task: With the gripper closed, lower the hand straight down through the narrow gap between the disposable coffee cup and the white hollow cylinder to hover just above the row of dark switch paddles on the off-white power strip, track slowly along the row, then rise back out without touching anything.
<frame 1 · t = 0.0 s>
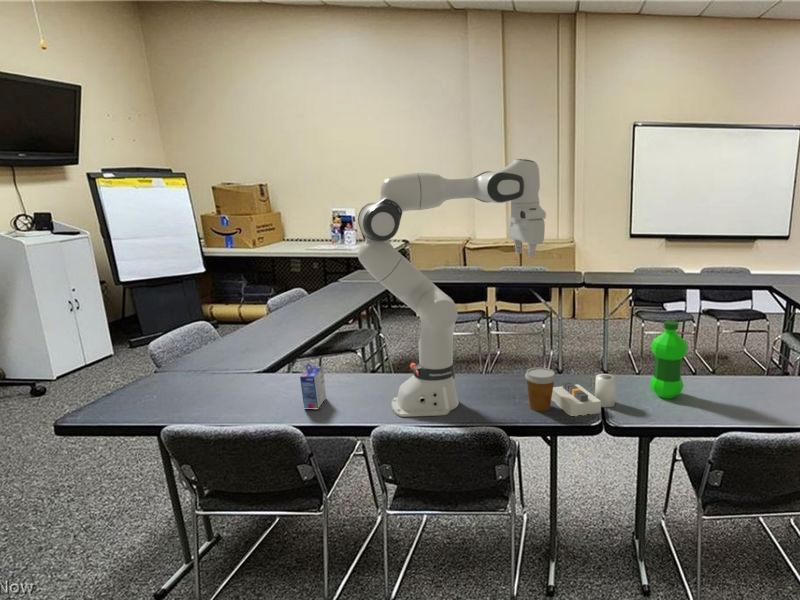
hand: (524, 255, 167), 48 cm above the table, fingers open, 8 cm apart
white hollow cylinder: (604, 403, 167), on the table
disposable coffee cup: (539, 407, 167), on the table
plastic bottle: (665, 395, 171), on the table
power strip: (574, 405, 167), on the table
ink cartridge box: (315, 404, 178), on the table
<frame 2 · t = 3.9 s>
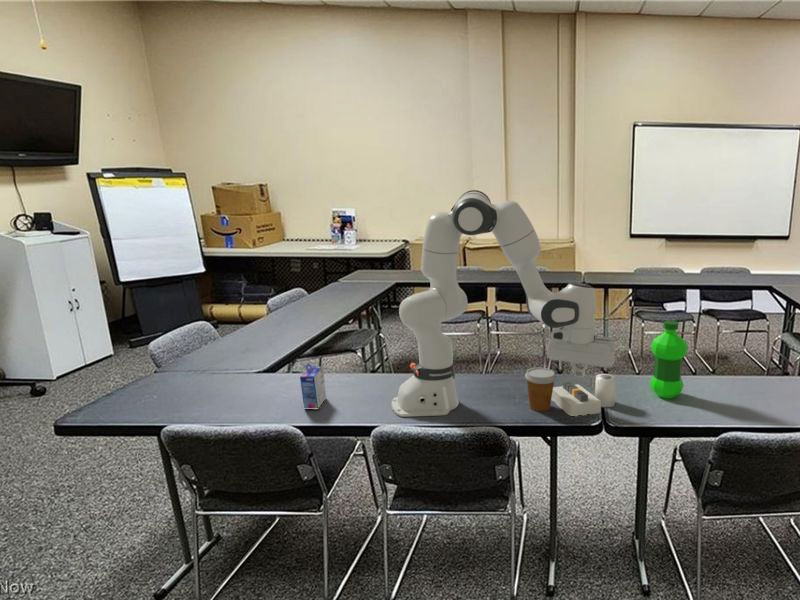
hand: (579, 375, 164), 10 cm above the table, fingers closed
nothing on the table moved.
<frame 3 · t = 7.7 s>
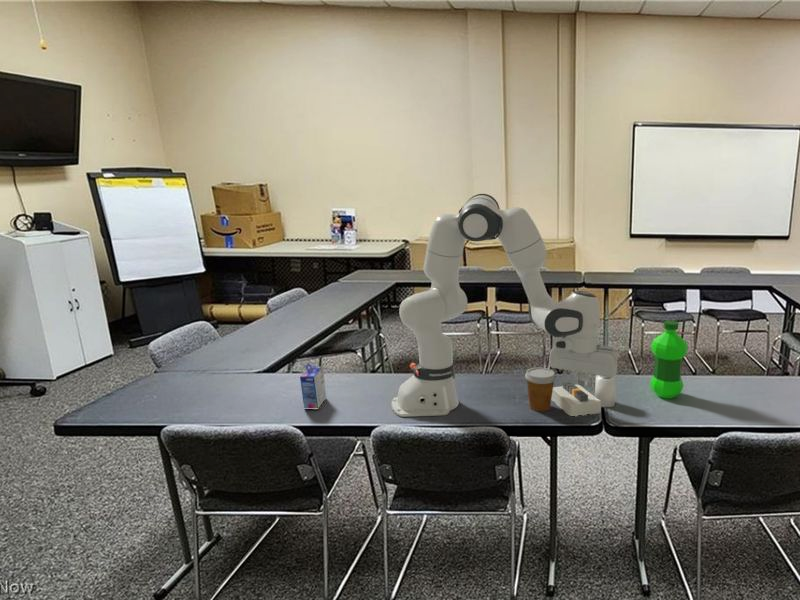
hand: (581, 384, 163), 8 cm above the table, fingers closed
nothing on the table moved.
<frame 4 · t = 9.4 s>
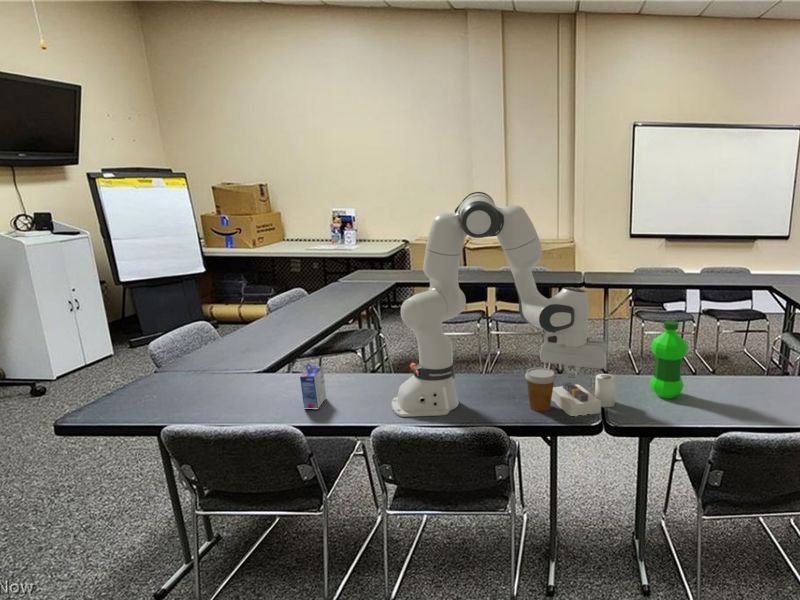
hand: (571, 377, 169), 8 cm above the table, fingers closed
nothing on the table moved.
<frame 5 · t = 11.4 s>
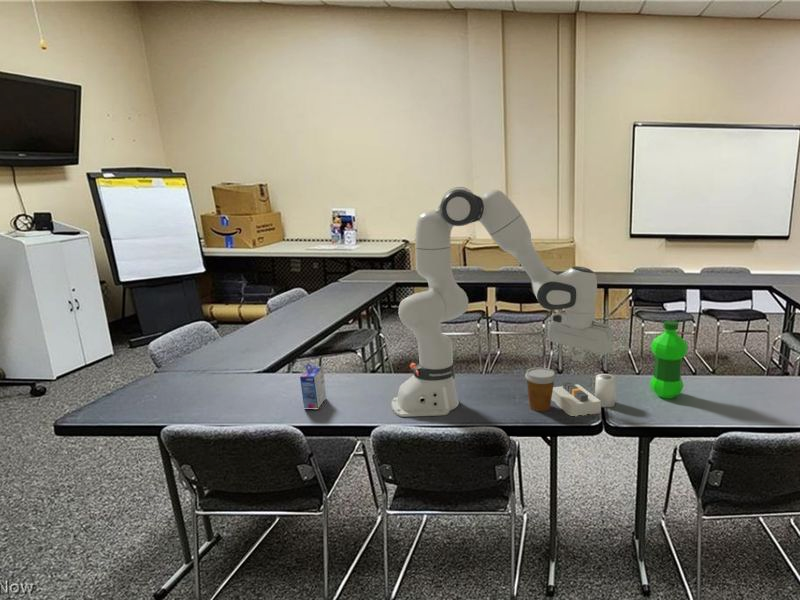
hand: (577, 360, 164), 15 cm above the table, fingers closed
nothing on the table moved.
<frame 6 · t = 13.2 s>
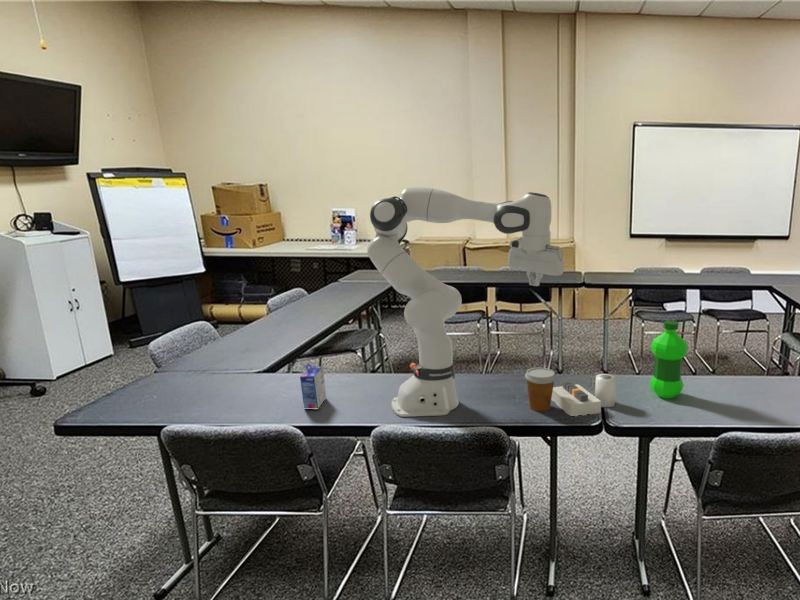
hand: (534, 285, 171), 38 cm above the table, fingers closed
nothing on the table moved.
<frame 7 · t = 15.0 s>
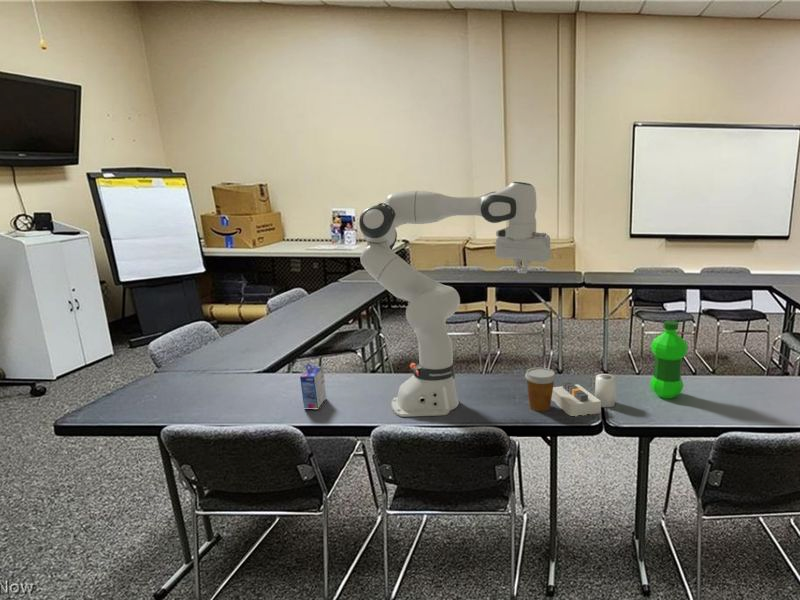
hand: (522, 273, 174), 41 cm above the table, fingers closed
nothing on the table moved.
at the end: disposable coffee cup moved 0.2 cm from its start; white hollow cylinder moved 0.0 cm from its start; white hollow cylinder tilted 0° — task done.
